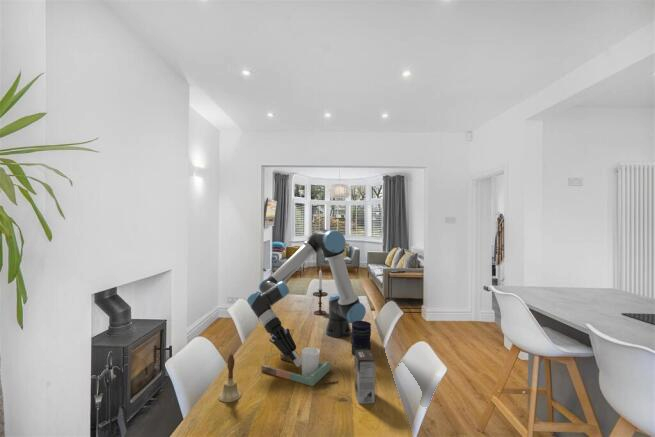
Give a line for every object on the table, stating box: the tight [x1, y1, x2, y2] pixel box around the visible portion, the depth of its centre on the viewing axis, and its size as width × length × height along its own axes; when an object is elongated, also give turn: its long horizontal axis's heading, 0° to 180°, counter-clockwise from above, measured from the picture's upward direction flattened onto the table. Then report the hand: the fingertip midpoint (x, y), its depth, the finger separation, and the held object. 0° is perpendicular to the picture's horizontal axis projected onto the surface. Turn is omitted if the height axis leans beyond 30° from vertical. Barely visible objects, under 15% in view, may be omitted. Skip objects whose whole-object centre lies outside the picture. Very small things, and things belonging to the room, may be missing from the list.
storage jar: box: [351, 320, 372, 357], centre depth 158 cm, size 10×10×15 cm
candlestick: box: [312, 264, 329, 316], centre depth 226 cm, size 11×11×35 cm
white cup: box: [301, 346, 320, 377], centre depth 136 cm, size 8×8×10 cm
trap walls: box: [275, 356, 301, 380], centre depth 139 cm, size 7×15×2 cm, turn 153°
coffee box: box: [354, 350, 376, 405], centre depth 119 cm, size 9×6×16 cm
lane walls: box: [261, 352, 294, 376], centre depth 143 cm, size 8×15×2 cm, turn 153°
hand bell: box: [218, 353, 242, 403], centre depth 118 cm, size 8×8×16 cm
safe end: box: [289, 360, 331, 387], centre depth 135 cm, size 11×15×4 cm
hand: (300, 365), depth 138 cm, fingers closed
